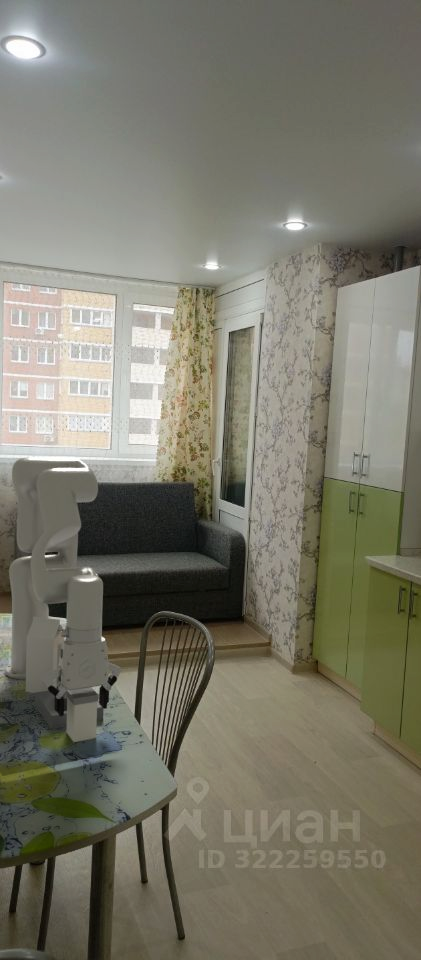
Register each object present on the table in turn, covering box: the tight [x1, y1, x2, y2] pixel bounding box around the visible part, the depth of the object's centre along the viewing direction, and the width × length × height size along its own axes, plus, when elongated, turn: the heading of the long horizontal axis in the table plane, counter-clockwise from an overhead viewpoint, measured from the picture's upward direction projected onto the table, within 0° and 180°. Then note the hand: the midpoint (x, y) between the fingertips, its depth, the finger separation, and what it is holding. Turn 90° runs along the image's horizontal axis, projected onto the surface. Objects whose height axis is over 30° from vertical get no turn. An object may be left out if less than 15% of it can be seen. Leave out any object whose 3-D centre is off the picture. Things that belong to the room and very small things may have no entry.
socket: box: [34, 690, 104, 730], centre depth 165 cm, size 14×12×4 cm
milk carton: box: [25, 617, 66, 694], centre depth 177 cm, size 7×7×19 cm
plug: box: [66, 687, 99, 743], centre depth 153 cm, size 5×5×10 cm
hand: (81, 710), depth 153 cm, fingers open, 9 cm apart
